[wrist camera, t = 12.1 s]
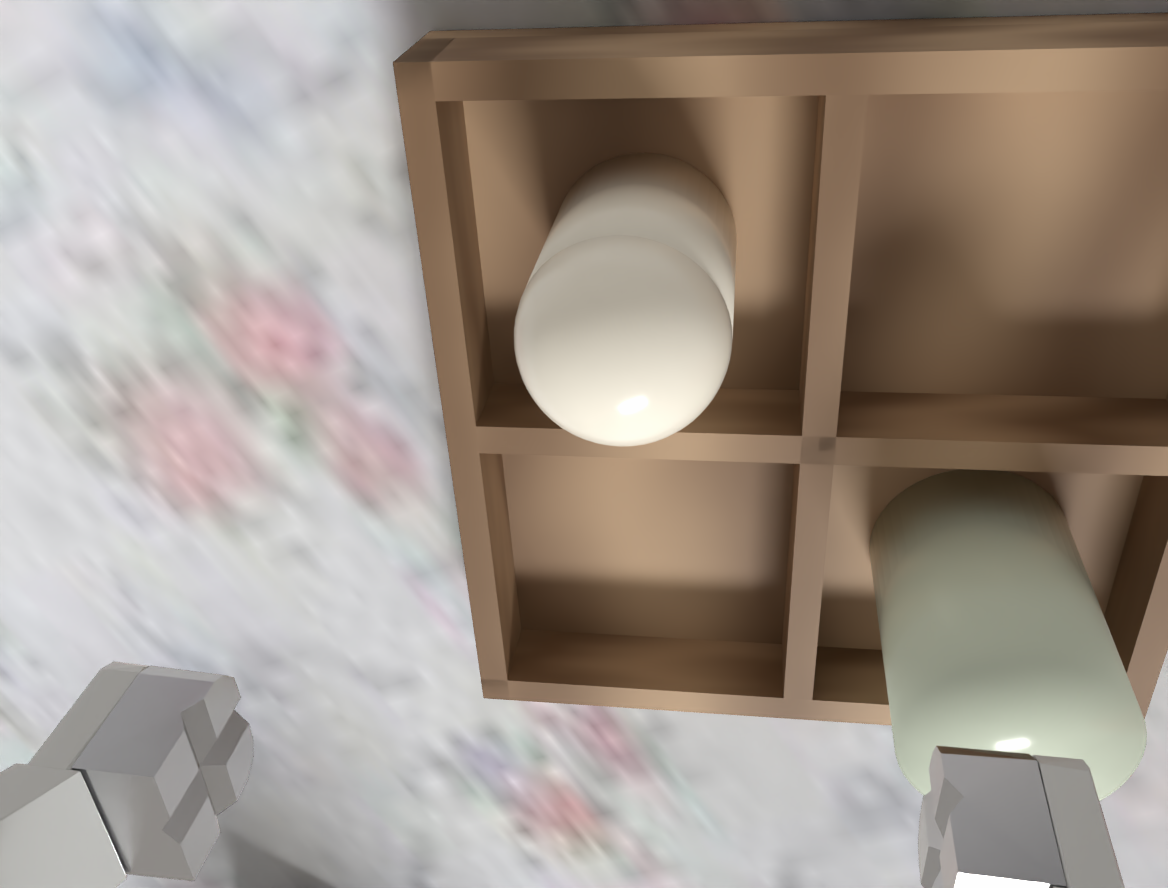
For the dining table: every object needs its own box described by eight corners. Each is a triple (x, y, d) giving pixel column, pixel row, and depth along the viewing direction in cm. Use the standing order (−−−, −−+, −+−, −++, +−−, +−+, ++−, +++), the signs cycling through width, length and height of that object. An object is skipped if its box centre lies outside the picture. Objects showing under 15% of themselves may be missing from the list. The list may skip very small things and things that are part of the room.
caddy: (1299, 9, 22) (1370, 42, 19) (1107, 664, 32) (1136, 741, 29) (430, 31, 24) (392, 62, 22) (503, 629, 34) (483, 698, 32)
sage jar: (1088, 473, 27) (1175, 667, 22) (1046, 624, 30) (1114, 832, 24) (881, 462, 28) (911, 647, 22) (859, 611, 31) (880, 809, 25)
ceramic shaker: (739, 152, 24) (732, 284, 18) (734, 326, 26) (727, 493, 20) (548, 153, 25) (481, 281, 19) (560, 323, 27) (505, 485, 21)
